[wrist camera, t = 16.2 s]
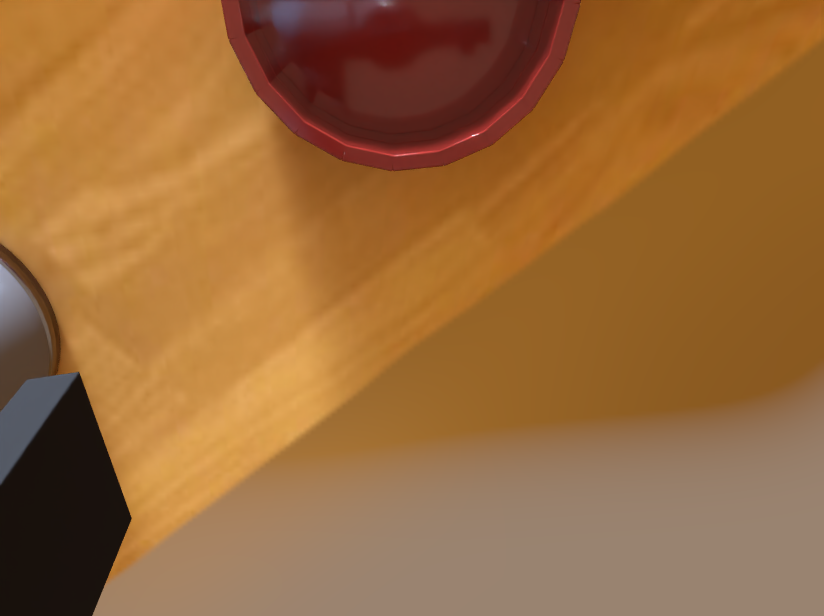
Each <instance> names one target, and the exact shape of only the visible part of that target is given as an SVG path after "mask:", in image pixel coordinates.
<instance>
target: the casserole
mask: <svg viewBox="0 0 824 616" xmlns="http://www.w3.org/2000/svg"><path fill="white" fill-rule="evenodd" d="M221 3H222V8H223V14H224V19H225V24H226V30H227V35H228V39H230V40H229V42H230V44H231V46H232V48H233V50H234V52H235V54H236V56H237V58H238V60H239V62H240V64H241V66H242V68H243V70H244V71H245V73H246V75H247V77H248V79H249V81H250V83H251V85H252V87H253V89H254V91H255V92H256V94H257V95H258V96H259V97H260V98H261V100H262V101H263V102H264V103H265V104H266V105H267V106H268V107H269V108H270V109H271V110H272V111H273V112H274V113H275V114H276V115H277V116H278V117H279V119H280V120H281V121H282V122H283V123H284V124H285V125H286V126H287V127H288V128H289V129H290V130H291V131H292V132H293V133H294V134H296V135H297V136H299V137H300V138H302V139H304V140H306V141H307V142H309V143H311V144H313V145H315V146H316V147H318V148H320V149H322V150H323V151H325V152H327V153H329V154H331V155H332V156H334V157H336V158H338V159H339V160H342V161H345V162H350V163H355V164H360V165H364V166H369V167H374V168H379V169H384V170H388V171H392V170H393V171H401V170H410V169H420V168H429V167H439V166H443V165H444V166H445V165H448V164H450V163H452V162H455V161H457V160H459V159H461V158H464V157H466V156H468V155H471V154H473V153H475V152H477V151H480V150H482V149H484V148H487V147H489V146H491V145H493V144H494V143H495V142H496V141H497V140H499V139H500V138H501V137H502V136H503V135H504V134H506V133H507V132H508V131H509V130H510V129H511V128H512V127H514V126H515V125H516V124H517V123H518V122H519V121H521V120H522V119H523V118H524V117H525V116H526V115H527V114H529V113H530V112H531V111H532V110H533V108H534V107H535V106H536V104H537V103H538V101H539V100H540V98H541V96H542V95H543V93H544V92H545V90H546V89H547V87H548V85H549V84H550V82H551V81H552V79H553V78H554V76H555V74H556V73H557V71H558V70H559V68H560V67H561V65H562V63H563V61H564V59H565V56H566V52H567V49H568V45H569V42H570V39H571V35H572V32H573V28H574V25H575V21H576V18H577V15H578V11H579V8H580V3H581V0H221Z"/></svg>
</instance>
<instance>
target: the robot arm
mask: <svg viewBox="0 0 824 616" xmlns="http://www.w3.org/2000/svg"><path fill="white" fill-rule="evenodd" d="M59 361H60V335H59V329H58V325H57V321H56V317H55V314H54V312H53V309H52V307H51V304H50V302H49V300H48V298H47V296H46V294H45V293H44V291H43V289H42V288H41V286H40V285H39V283H38V282H37V280H36V279H35V278H34V276H33V275H32V274H31V272H30V271H29V270H28V269H27V268H26V267H25V266H24V265H23V263H22V262H21V261H20V260H19V259H18V258H16V257H15V256H14V255H13V254H12V253H11V252H10V251H9V250H7V249H6V248H5V247H4V246H2V245H1V244H0V616H92V615H93V612H94V610H95V607H96V605H97V602H98V600H99V598H100V595H101V593H102V590H103V588H104V585H105V583H106V580H107V578H108V576H109V573H110V571H111V568H112V566H113V563H114V561H115V558H116V556H117V553H118V551H119V549H120V546H121V544H122V541H123V539H124V536H125V534H126V531H127V529H128V526H129V524H130V522H131V519H132V518H131V515H130V512H129V509H128V507H127V504H126V501H125V498H124V496H123V493H122V490H121V487H120V484H119V482H118V479H117V476H116V473H115V471H114V468H113V465H112V462H111V459H110V457H109V454H108V451H107V448H106V446H105V443H104V440H103V437H102V435H101V432H100V429H99V426H98V423H97V421H96V418H95V415H94V412H93V410H92V407H91V404H90V401H89V398H88V396H87V393H86V390H85V387H84V385H83V382H82V379H81V376H80V373H79V372H76V373H69V374H62V375H56V374H57V371H58V366H59Z"/></svg>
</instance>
